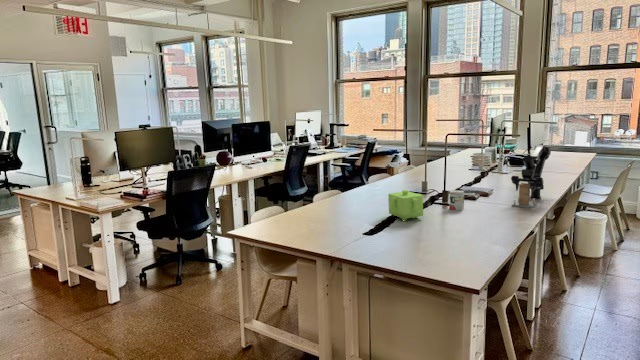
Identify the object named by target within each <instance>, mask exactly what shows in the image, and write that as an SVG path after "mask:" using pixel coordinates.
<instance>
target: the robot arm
mask: <svg viewBox="0 0 640 360" xmlns="http://www.w3.org/2000/svg"><path fill="white" fill-rule="evenodd" d="M551 151H552V150H551V149H550V148H549V147H547V146H546V145H543V144H541V145H539V144H538V145H536V147H535V149H534V151H533V152H532V153H530V154H529V153H528V154H527V155H525V156H524V157H522V161H523V164H524V167H525V168H523V169H521V177H520V176H519V175H511V177H510V179H511V183H512V184H513V185H515V189H516V190H515V191H516V192H517V191H519V184H520V182H522V183H527V184H530V199H533V198H535V199H541V197H542V196H541V191H542V190H544V188H545V187H544V186H545V185H544V179H543V177H542V173H543V169H544V167H545V164H546V160H548V159H549V158H550V155H551Z"/></svg>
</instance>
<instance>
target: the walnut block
mask: <svg viewBox="0 0 640 360" xmlns="http://www.w3.org/2000/svg"><path fill="white" fill-rule="evenodd" d="M530 196H531V189H530V184H528V182H521V183H519V187H518V197H519V204H522V205H528V204H529V201H531V198H530Z"/></svg>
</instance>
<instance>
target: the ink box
mask: <svg viewBox="0 0 640 360" xmlns="http://www.w3.org/2000/svg"><path fill="white" fill-rule="evenodd" d="M448 199H449V203H448V204H449V209H448V210H455V211H463V210H464V209H465V191H464V190H458V189H456V190H455V189H452V190H450V191H449V198H448Z"/></svg>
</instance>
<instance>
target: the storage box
mask: <svg viewBox="0 0 640 360" xmlns="http://www.w3.org/2000/svg"><path fill="white" fill-rule="evenodd" d="M387 196H388V213H389V215H392V216H393V217H394V216H397V217H399V218H398V219H400V220H401V219H402V220H407V221H408V219H413V218H418V217H424V196H423V194H421V193H415V192H412V191H409V190H407V189H406V190H405V189H404V190H402V191H399V192H398V191H397V192H392V193H388V195H387ZM418 219H419V218H418Z"/></svg>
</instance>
